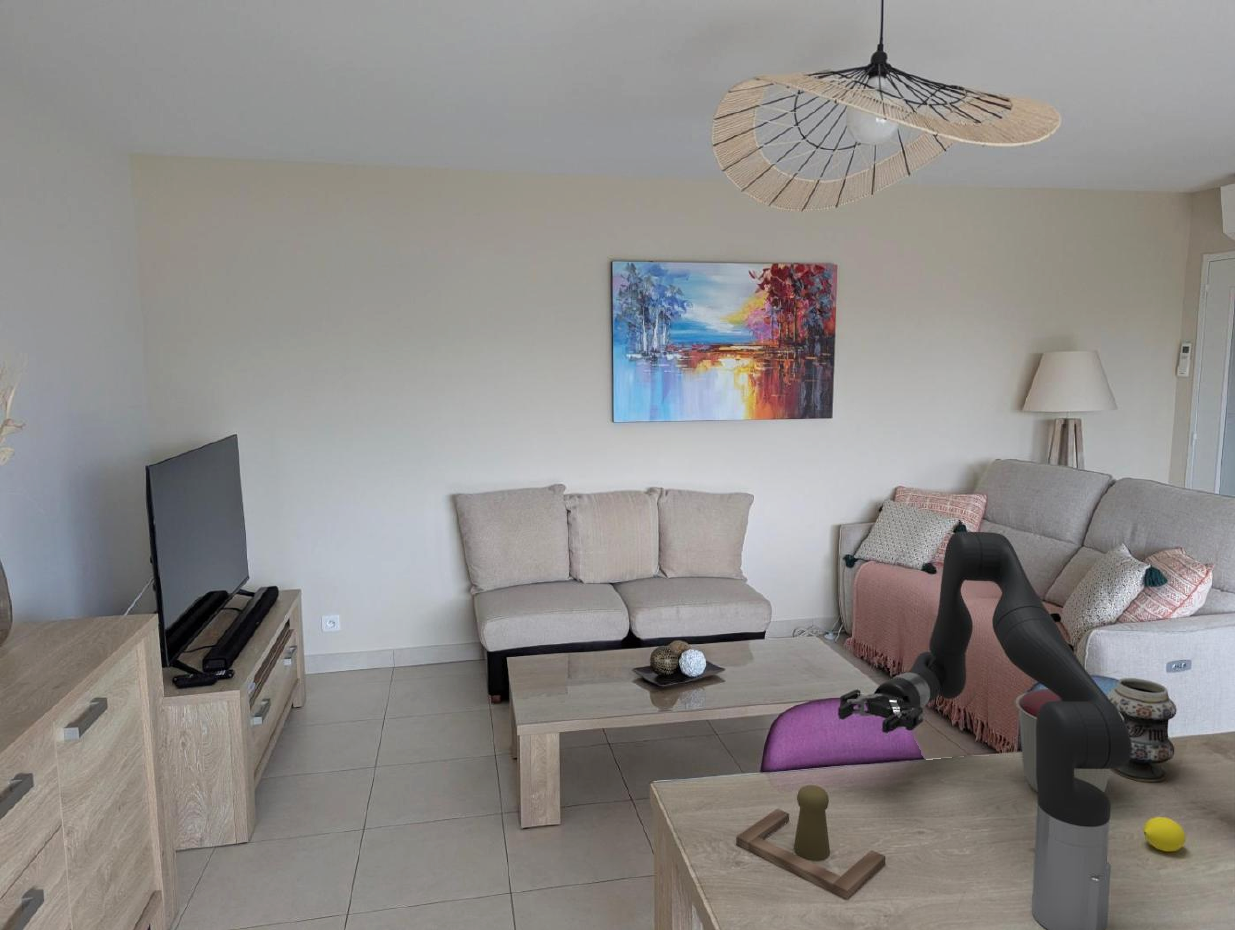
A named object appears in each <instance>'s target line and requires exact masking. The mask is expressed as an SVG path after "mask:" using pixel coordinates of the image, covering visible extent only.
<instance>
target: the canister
mask: <svg viewBox="0 0 1235 930" xmlns="http://www.w3.org/2000/svg"><path fill="white" fill-rule="evenodd" d="M1051 701H1062V700H1061V699H1060V697H1058V696H1057V695H1056V694H1055V693H1054V692H1052V691H1051V690H1049V689H1048V688H1042V689H1040V688H1039V689H1035V690H1031V691H1028V692H1025V693H1022V694H1020V695H1018V696H1017V697H1016V699H1015V706H1016V709H1018V711H1019V713H1018V715H1019V727H1020V729H1019V730H1020V740H1021V741H1020V742H1021V745H1020V746H1021V757H1022V765H1023V772H1024V775H1025V779H1026V780H1027V782H1028V784H1029V786H1030V787H1031V788H1032V789H1033V790H1034V791H1035V792H1037V793H1038V789H1037V780H1036V722H1037V716H1038V712H1039V710H1040V708H1041V706H1042V705H1043V704H1044V703H1046V702H1051ZM1119 714H1120V713H1119ZM1120 715H1121V714H1120ZM1121 717H1122V719H1123V720H1124V718H1123V716H1122V715H1121ZM1110 773H1111V769H1074V777H1075V778H1078V779H1081V780H1083V781H1086V782H1088V783H1090V784H1092V785H1094V786H1096V787H1097V788H1099V789H1100V790H1102V791H1103V792H1104V793H1105V792H1106V788H1107V785H1108V780H1109V777H1110Z"/></svg>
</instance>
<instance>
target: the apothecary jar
mask: <svg viewBox="0 0 1235 930" xmlns="http://www.w3.org/2000/svg"><path fill="white" fill-rule="evenodd" d="M1106 696H1107V697H1108V699H1109V700H1110V701H1111V702H1112V704H1113V705H1114V706H1115V708H1116V709H1117V711H1118V712H1119V713H1120V714H1121V715H1122V716H1123V718H1124V722H1125V725H1126V727H1127V729H1128V732H1129V735H1130V739H1131V744H1132V754H1131V758H1130V760H1129V761H1128V763H1127V764H1125V765H1124V766H1122V767H1119V768H1113V769H1110V771H1112V772H1114V773H1116V774H1117V775H1120V776H1122V777H1124V778H1127V779H1130V780H1133V781H1139V782H1146V783H1158V782H1162V781H1165V779H1166V777H1167V773H1166V772H1165V770H1164V769H1163V768H1161V766H1159V765H1157V764H1162V763H1166V762H1167V761H1170V760H1171V759H1172V758H1173V757H1174V755H1175V747H1174V744H1173V743H1172V741H1171V740H1170V739H1169V737H1168V734H1169V730H1168V729H1169V720H1171V719H1173V718H1174V717H1175V716H1176V714H1177V705H1176V704H1175V702H1174V701H1173V700H1172V699H1171V698H1170V697H1169V693H1168V688H1167V687H1165V686H1164V685H1162V684H1161V683H1158V682H1155V681H1152V680H1147V679H1143V678H1135V677H1123V678H1120V679H1118V681H1117V685H1116V687H1115V688H1113V689H1112V690H1110V691H1109V692H1108V694H1107V695H1106Z"/></svg>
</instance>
